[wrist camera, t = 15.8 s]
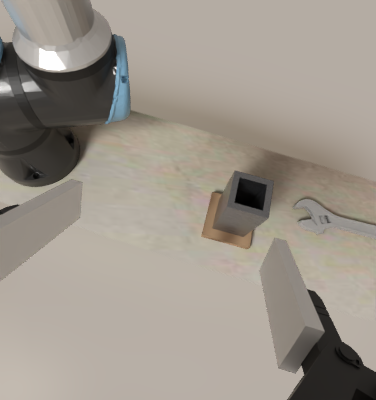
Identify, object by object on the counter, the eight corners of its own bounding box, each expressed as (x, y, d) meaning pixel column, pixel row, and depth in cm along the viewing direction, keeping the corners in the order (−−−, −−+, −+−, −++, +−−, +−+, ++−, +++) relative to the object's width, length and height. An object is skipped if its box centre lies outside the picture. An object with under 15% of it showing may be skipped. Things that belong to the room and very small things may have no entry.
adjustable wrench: (414, 238, 49) (422, 236, 47) (415, 269, 47) (424, 268, 45) (295, 198, 50) (299, 195, 49) (289, 226, 48) (294, 224, 46)
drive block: (200, 237, 46) (205, 228, 41) (211, 195, 50) (216, 182, 44) (246, 249, 46) (257, 243, 40) (253, 207, 49) (264, 195, 44)
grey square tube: (212, 228, 45) (226, 206, 34) (218, 199, 47) (234, 170, 36) (243, 237, 45) (268, 218, 34) (248, 207, 47) (273, 181, 36)
